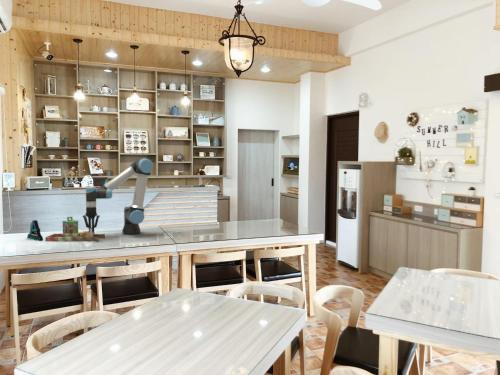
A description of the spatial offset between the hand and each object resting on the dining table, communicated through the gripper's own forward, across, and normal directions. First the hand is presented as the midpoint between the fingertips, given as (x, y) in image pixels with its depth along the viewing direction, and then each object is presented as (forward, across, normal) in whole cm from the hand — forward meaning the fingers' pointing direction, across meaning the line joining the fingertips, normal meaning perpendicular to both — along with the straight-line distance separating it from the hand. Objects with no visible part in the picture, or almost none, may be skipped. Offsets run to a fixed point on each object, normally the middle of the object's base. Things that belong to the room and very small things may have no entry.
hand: (91, 236), depth 329 cm
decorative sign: (+3, -44, 0) cm, 44 cm away
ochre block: (+3, -4, 0) cm, 5 cm away
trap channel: (+3, -12, +4) cm, 13 cm away
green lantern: (+3, -24, +19) cm, 31 cm away
